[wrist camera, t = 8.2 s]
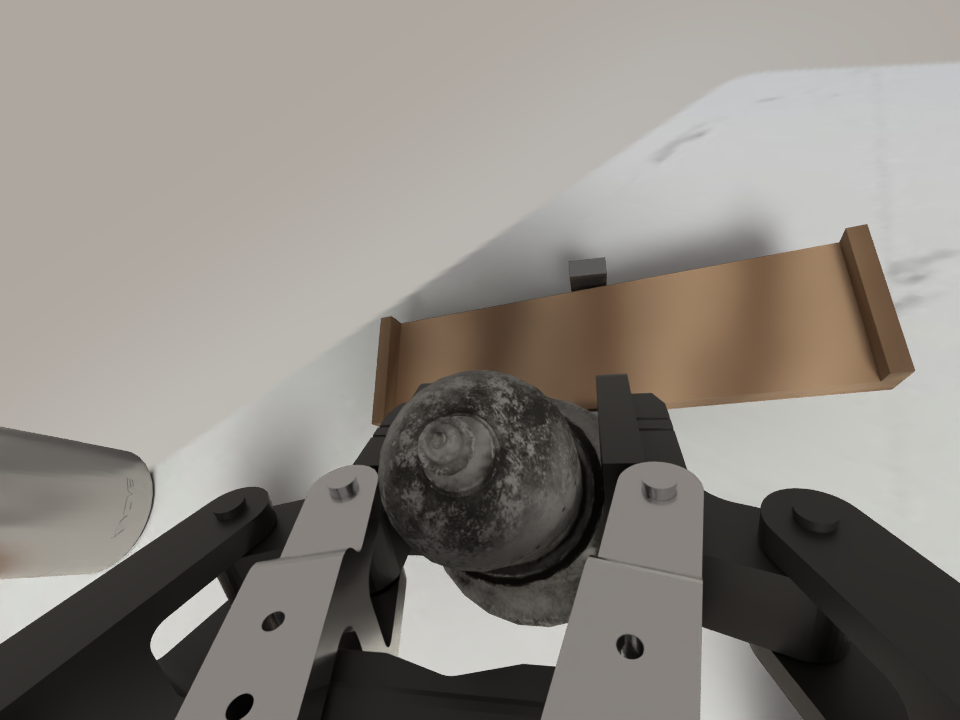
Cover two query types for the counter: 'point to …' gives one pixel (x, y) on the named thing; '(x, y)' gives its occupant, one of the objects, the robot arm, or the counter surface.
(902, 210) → the counter surface
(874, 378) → the beam
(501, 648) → the counter surface
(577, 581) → the dark grey turned piece
